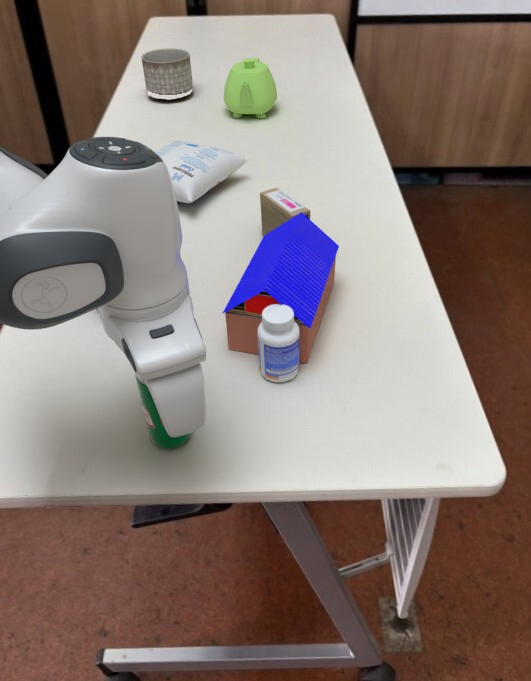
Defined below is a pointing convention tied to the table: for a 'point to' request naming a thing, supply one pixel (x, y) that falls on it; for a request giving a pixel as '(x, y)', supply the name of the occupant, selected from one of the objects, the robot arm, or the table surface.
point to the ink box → (278, 209)
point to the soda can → (157, 421)
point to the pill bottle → (278, 343)
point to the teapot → (250, 89)
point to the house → (284, 284)
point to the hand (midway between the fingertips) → (164, 400)
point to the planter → (167, 71)
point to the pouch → (197, 168)
